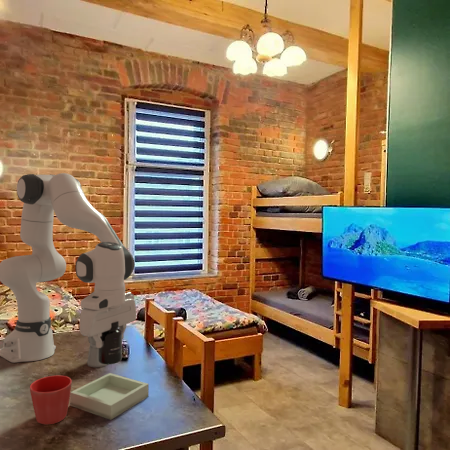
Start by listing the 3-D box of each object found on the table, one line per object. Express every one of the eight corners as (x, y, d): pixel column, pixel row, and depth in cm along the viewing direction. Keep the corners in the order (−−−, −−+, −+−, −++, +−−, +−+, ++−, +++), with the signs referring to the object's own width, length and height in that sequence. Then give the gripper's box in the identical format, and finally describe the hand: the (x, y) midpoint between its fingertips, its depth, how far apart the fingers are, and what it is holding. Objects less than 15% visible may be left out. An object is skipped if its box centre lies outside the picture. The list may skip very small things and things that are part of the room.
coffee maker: (97, 371, 147) (97, 320, 146) (77, 367, 150) (77, 317, 149) (122, 356, 161) (122, 310, 160) (104, 353, 164) (104, 308, 163)
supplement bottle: (115, 366, 121) (115, 325, 120) (94, 364, 122) (93, 323, 121) (125, 357, 127) (125, 318, 127) (105, 355, 129) (104, 317, 128)
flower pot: (29, 431, 108) (29, 395, 107) (30, 412, 118) (30, 378, 117) (73, 423, 112) (72, 388, 111) (70, 405, 122) (70, 372, 122)
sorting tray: (70, 405, 122) (70, 392, 122) (109, 385, 136) (109, 372, 136) (110, 419, 114) (110, 405, 114) (148, 396, 128) (148, 383, 128)
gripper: (125, 289, 134) (126, 332, 135) (75, 302, 117) (76, 351, 117) (141, 292, 131) (141, 335, 132) (92, 305, 114) (92, 355, 114)
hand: (110, 343), depth 125 cm, fingers closed on supplement bottle, 7 cm apart
